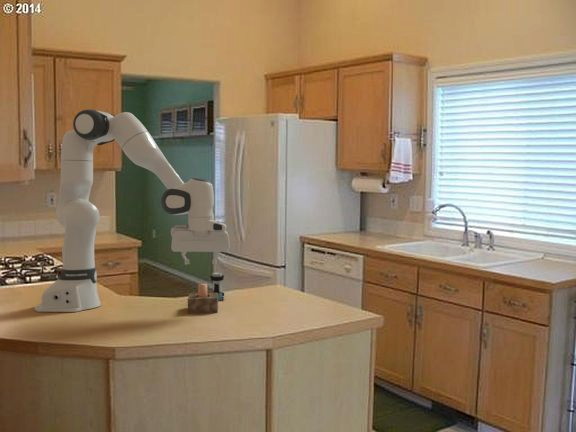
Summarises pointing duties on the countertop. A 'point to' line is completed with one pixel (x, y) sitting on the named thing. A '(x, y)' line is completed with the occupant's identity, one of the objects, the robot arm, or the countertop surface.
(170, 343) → the countertop surface
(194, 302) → the socket block
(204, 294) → the dowel
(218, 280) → the push button
